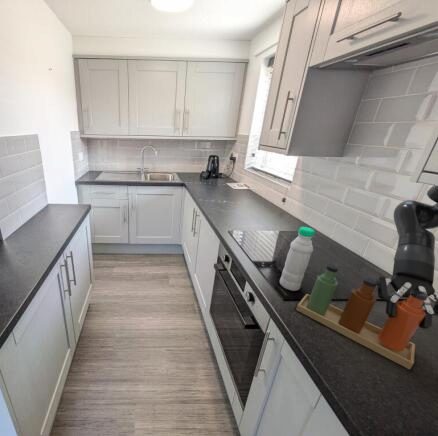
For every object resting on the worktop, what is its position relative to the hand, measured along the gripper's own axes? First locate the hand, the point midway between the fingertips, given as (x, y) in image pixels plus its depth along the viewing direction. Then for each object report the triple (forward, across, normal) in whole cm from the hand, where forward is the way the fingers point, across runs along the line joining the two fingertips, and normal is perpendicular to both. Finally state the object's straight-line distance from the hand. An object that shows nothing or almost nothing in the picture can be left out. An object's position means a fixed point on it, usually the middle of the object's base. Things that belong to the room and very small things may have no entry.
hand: (407, 322), depth 61 cm
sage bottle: (+3, -17, +12) cm, 21 cm away
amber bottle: (+5, -9, +10) cm, 14 cm away
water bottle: (-4, -26, +20) cm, 33 cm away
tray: (+5, -9, +11) cm, 15 cm away
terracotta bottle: (+5, 0, +8) cm, 9 cm away
